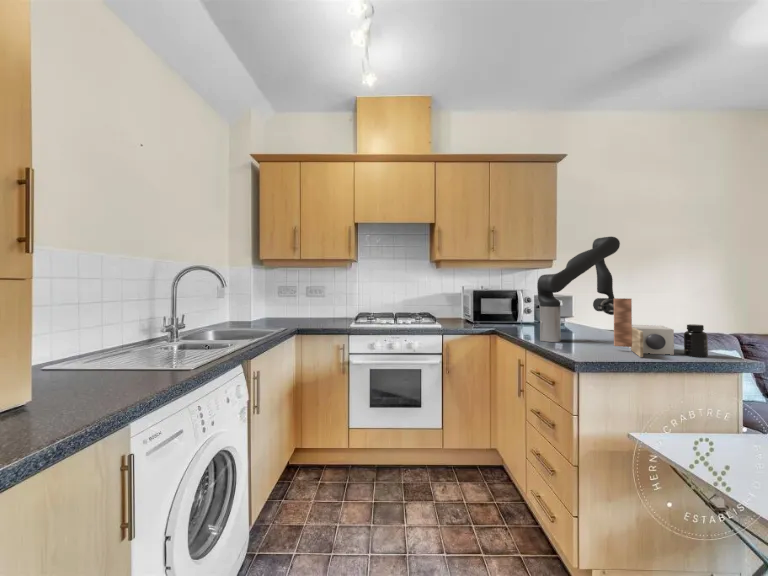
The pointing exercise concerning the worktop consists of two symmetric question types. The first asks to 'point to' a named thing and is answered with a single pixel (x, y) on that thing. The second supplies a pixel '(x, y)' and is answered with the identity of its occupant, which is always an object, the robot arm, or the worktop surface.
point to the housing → (657, 339)
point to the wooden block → (626, 327)
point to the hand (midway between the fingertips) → (617, 308)
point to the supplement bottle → (695, 341)
